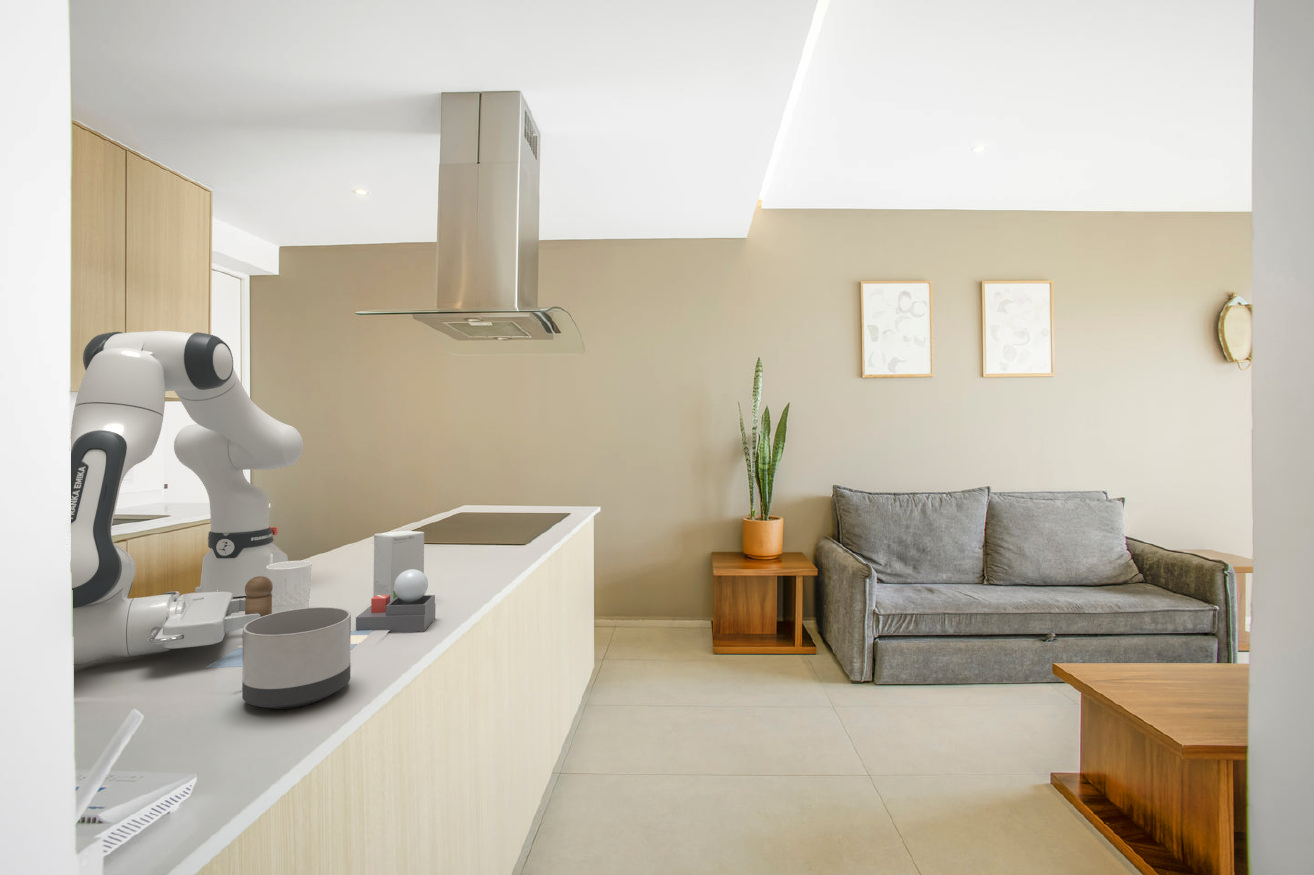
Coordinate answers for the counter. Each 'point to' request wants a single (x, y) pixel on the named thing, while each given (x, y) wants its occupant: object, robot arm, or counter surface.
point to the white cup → (290, 585)
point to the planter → (296, 657)
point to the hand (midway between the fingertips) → (261, 610)
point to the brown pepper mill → (258, 596)
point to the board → (236, 656)
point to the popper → (397, 614)
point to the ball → (411, 585)
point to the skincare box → (396, 558)
